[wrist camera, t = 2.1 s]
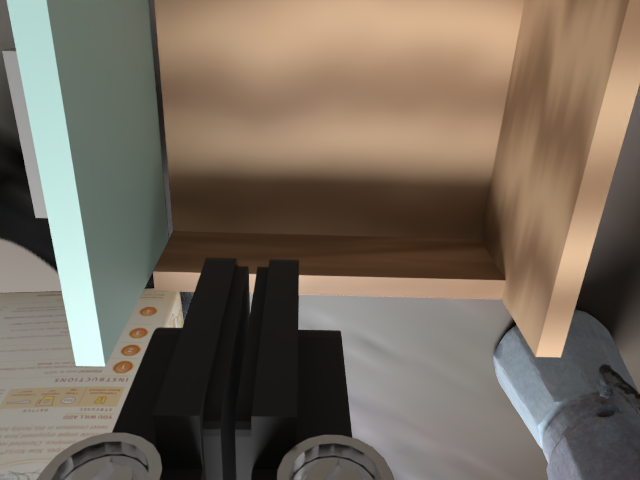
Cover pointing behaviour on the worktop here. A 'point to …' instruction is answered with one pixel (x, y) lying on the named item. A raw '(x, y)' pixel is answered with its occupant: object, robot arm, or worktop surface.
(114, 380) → the coffeecake box
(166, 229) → the tailgate
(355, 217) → the shelf
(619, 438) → the moka pot
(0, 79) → the worktop surface
